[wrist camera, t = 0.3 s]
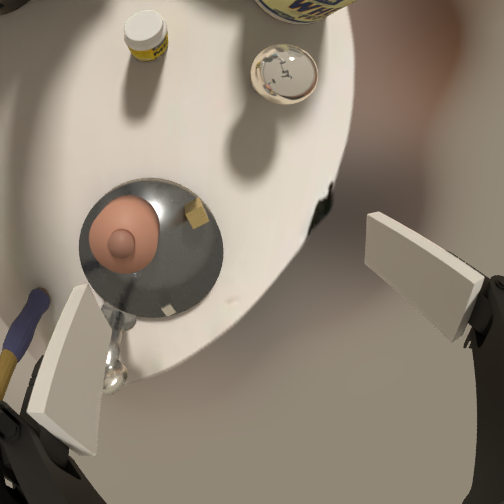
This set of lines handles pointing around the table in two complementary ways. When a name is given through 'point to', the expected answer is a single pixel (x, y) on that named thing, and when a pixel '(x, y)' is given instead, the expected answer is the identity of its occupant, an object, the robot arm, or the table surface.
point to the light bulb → (284, 74)
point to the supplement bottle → (146, 35)
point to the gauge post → (115, 348)
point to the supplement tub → (302, 9)
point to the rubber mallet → (21, 335)
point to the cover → (125, 234)
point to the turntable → (161, 253)
